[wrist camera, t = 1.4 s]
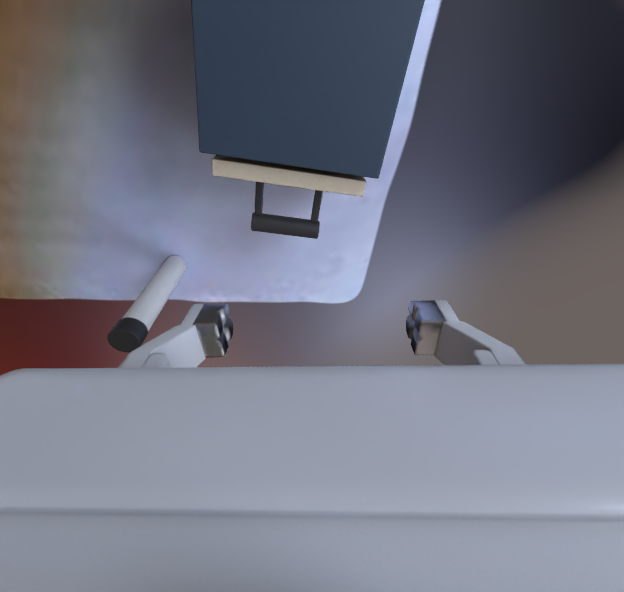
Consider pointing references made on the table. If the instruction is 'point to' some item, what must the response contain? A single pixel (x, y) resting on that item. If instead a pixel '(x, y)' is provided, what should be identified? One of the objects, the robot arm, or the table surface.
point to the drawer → (287, 177)
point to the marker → (147, 306)
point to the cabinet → (301, 79)
